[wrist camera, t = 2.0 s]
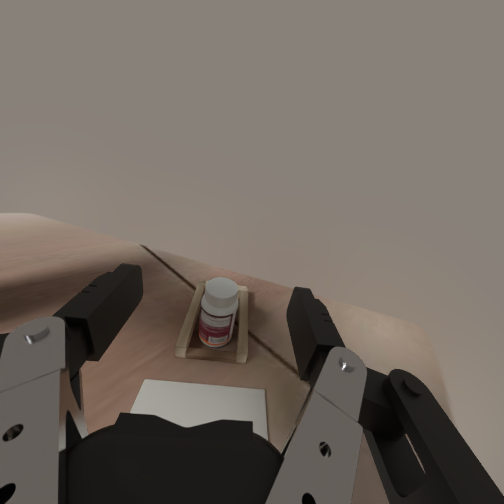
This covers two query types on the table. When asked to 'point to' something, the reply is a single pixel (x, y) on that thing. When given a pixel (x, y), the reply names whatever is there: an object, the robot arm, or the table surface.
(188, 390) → the mat
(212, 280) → the pill bottle
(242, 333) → the wooden rectangular frame
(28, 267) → the table surface
